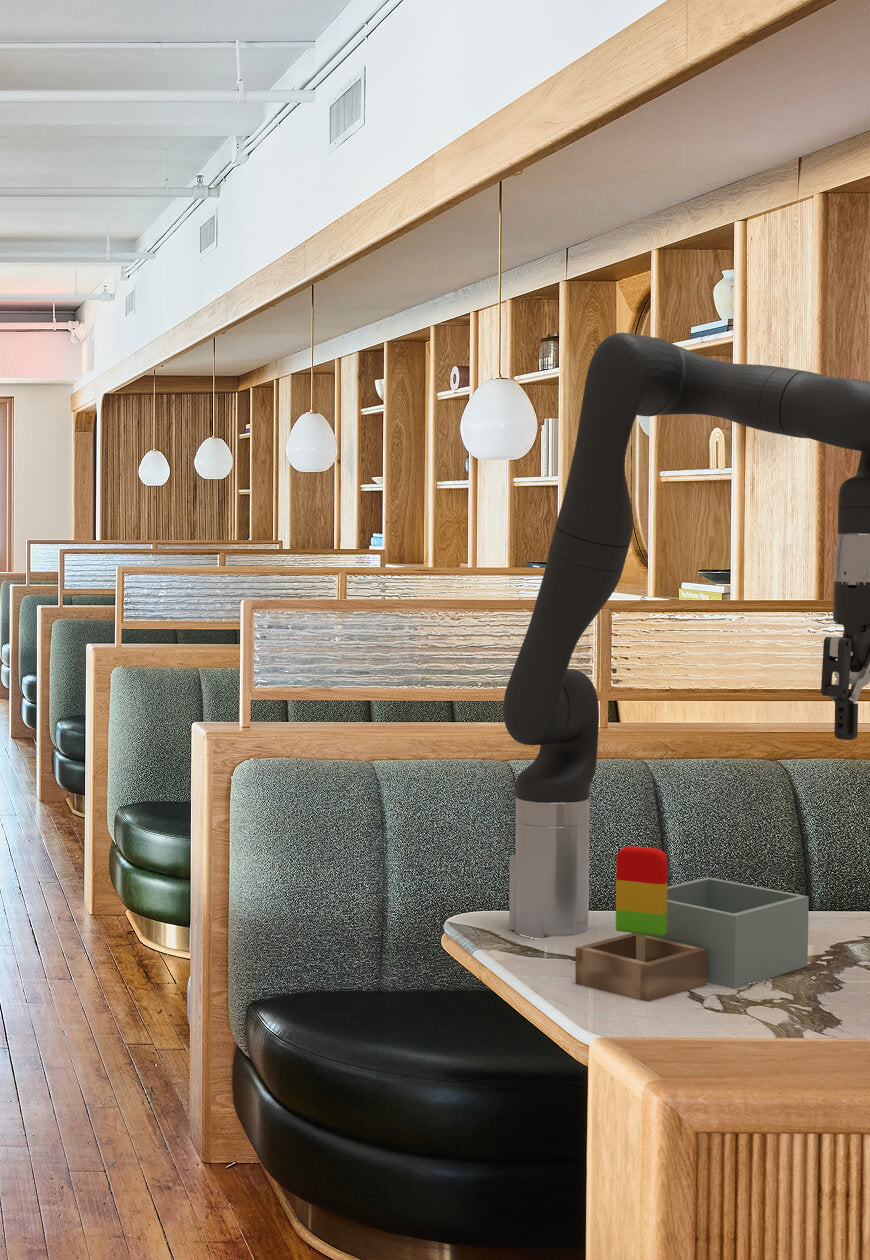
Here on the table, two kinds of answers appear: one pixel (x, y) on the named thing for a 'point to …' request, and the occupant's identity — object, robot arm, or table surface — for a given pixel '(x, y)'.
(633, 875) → the popsicle
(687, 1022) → the table surface
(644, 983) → the collar
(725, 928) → the bin
